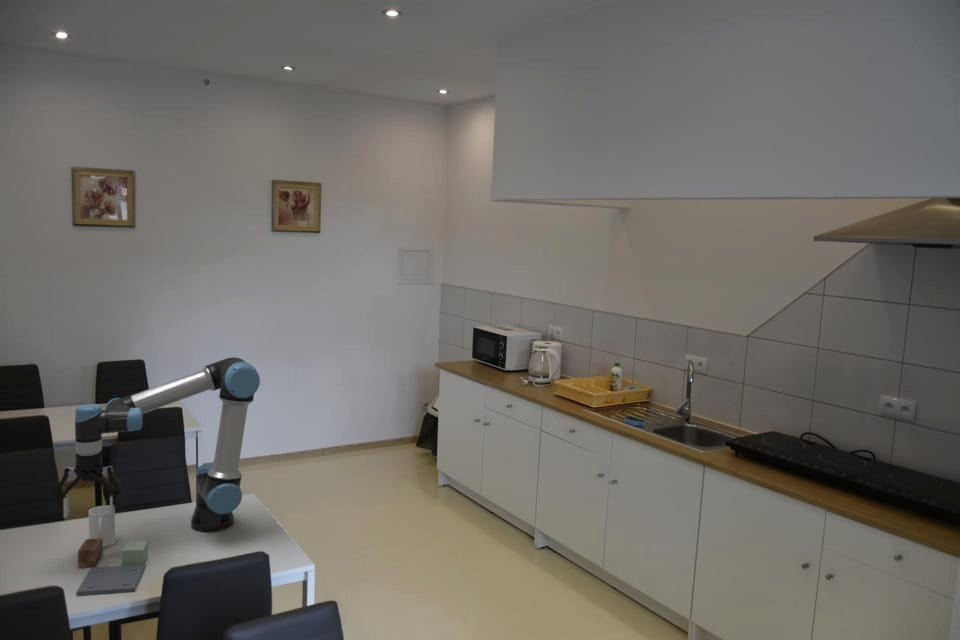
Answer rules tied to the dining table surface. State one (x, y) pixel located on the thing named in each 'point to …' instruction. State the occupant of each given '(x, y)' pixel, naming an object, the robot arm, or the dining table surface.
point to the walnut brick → (90, 553)
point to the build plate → (111, 579)
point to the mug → (102, 525)
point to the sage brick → (135, 553)
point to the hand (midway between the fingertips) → (89, 515)
